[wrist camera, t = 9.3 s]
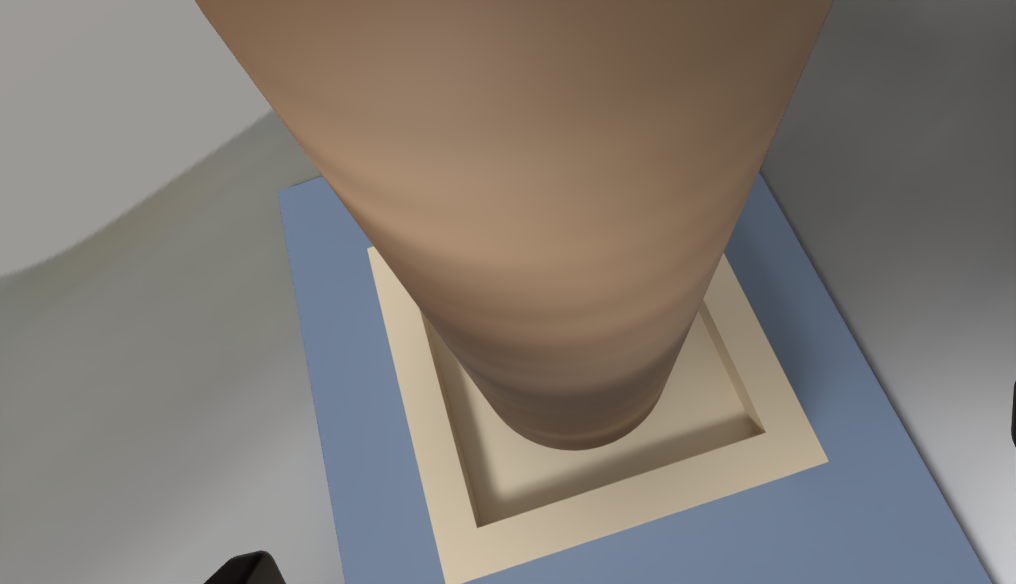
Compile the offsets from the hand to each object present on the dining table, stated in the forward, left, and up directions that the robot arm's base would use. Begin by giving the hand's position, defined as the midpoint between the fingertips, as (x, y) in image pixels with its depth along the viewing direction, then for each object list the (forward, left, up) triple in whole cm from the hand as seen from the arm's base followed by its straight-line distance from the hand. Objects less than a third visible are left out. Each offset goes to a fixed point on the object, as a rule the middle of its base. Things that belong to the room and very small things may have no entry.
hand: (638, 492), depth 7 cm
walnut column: (+4, 0, -8) cm, 9 cm away
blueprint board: (+4, 0, -11) cm, 12 cm away
